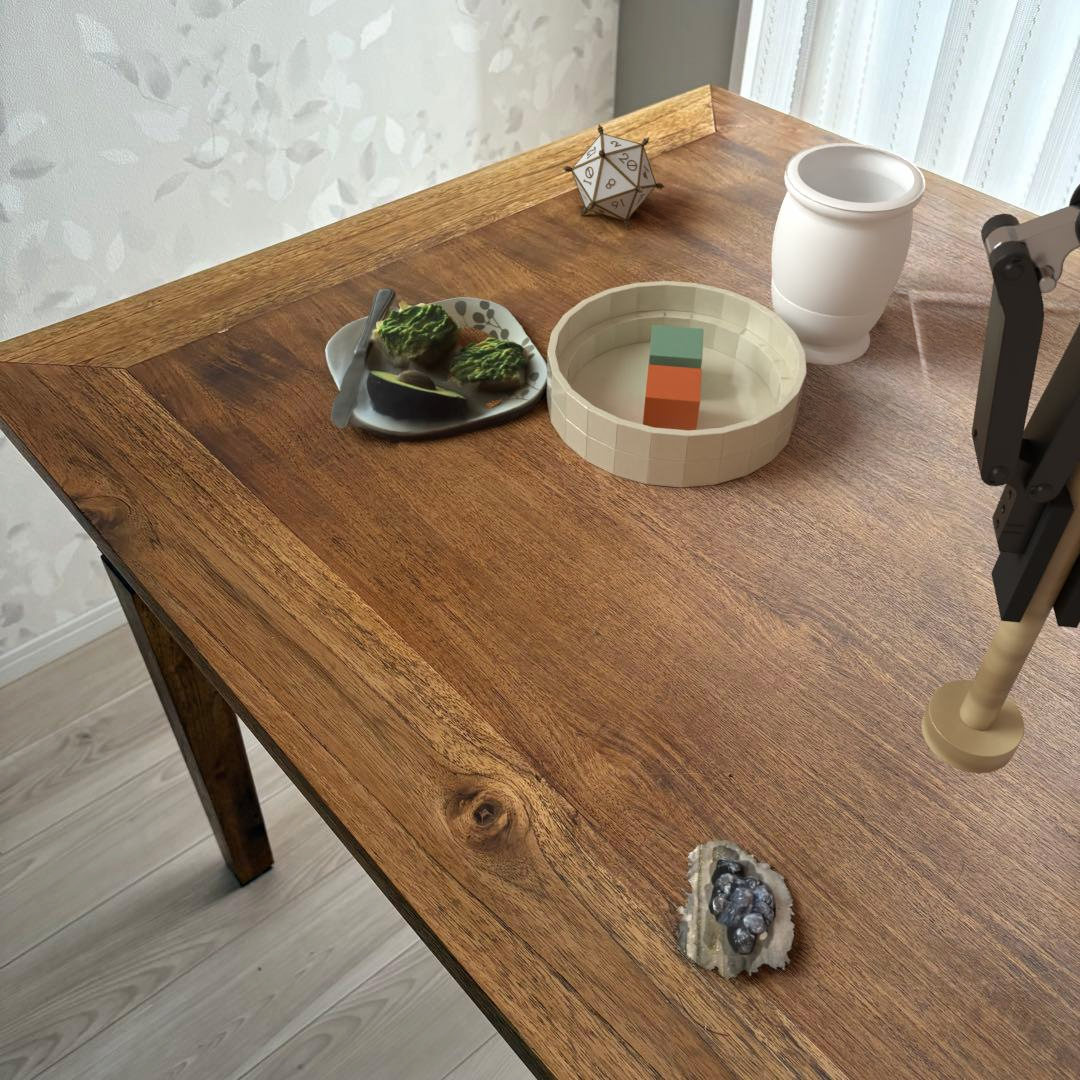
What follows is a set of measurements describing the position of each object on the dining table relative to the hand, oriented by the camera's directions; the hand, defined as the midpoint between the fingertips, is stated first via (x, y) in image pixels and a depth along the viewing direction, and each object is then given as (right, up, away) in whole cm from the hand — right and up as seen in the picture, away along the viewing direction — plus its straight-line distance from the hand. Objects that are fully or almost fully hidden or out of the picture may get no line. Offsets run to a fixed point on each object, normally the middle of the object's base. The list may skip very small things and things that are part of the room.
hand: (1033, 599), depth 47 cm
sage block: (-10, +15, +42) cm, 46 cm away
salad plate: (-29, +15, +43) cm, 54 cm away
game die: (-14, +34, +61) cm, 71 cm away
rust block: (-11, +11, +38) cm, 41 cm away
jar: (+3, +19, +47) cm, 51 cm away
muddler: (0, -7, +7) cm, 10 cm away
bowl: (-11, +13, +40) cm, 44 cm away
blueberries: (-11, -17, +12) cm, 23 cm away
